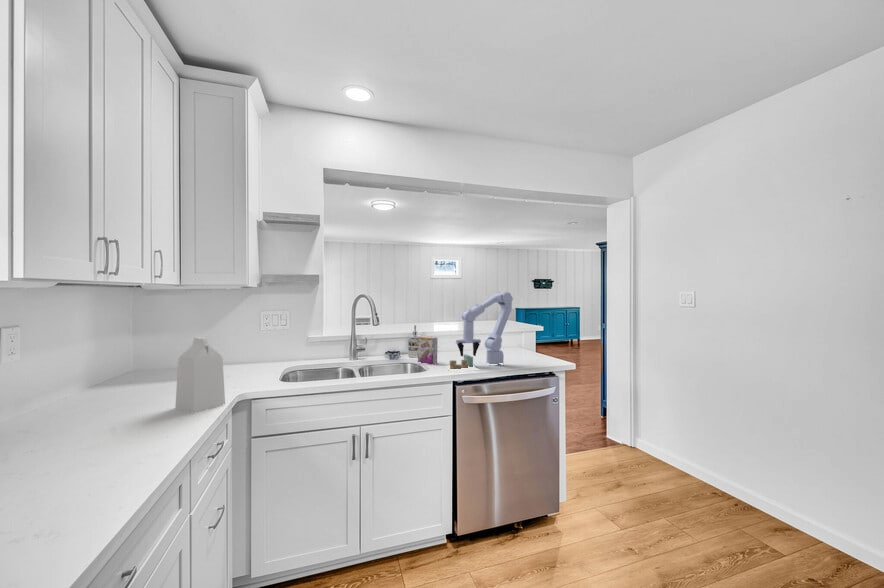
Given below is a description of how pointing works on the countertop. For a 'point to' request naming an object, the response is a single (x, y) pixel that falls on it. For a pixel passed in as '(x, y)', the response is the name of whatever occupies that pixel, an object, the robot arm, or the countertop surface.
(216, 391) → the milk
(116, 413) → the countertop surface
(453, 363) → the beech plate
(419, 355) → the candy bar box
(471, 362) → the light green flat block
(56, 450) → the countertop surface
